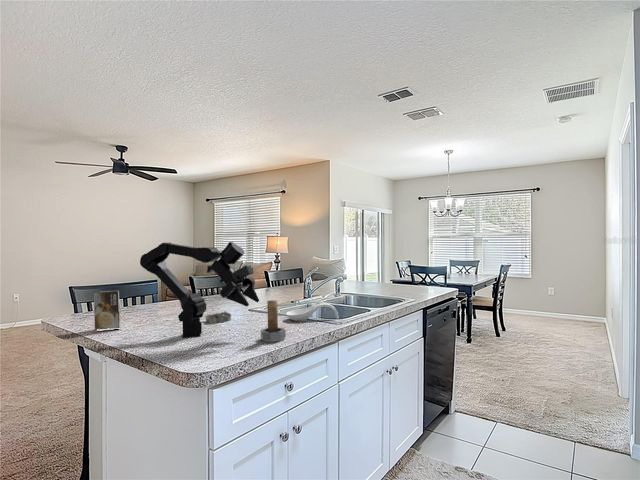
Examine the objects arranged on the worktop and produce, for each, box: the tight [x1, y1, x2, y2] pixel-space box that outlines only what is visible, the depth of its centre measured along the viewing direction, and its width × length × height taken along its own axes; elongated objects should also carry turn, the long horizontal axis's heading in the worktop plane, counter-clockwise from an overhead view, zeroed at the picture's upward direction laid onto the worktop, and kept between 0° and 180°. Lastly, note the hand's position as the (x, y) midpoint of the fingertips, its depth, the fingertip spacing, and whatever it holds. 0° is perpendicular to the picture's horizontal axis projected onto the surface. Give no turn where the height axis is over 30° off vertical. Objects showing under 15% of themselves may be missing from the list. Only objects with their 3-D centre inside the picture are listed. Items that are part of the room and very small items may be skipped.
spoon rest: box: [285, 302, 339, 322], centre depth 171 cm, size 24×12×7 cm, turn 96°
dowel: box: [266, 299, 279, 332], centre depth 137 cm, size 4×4×13 cm
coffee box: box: [93, 289, 121, 331], centre depth 158 cm, size 9×6×16 cm
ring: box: [260, 326, 287, 343], centre depth 137 cm, size 8×8×3 cm
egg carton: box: [204, 310, 232, 324], centre depth 172 cm, size 11×8×4 cm
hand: (253, 303), depth 139 cm, fingers open, 9 cm apart
